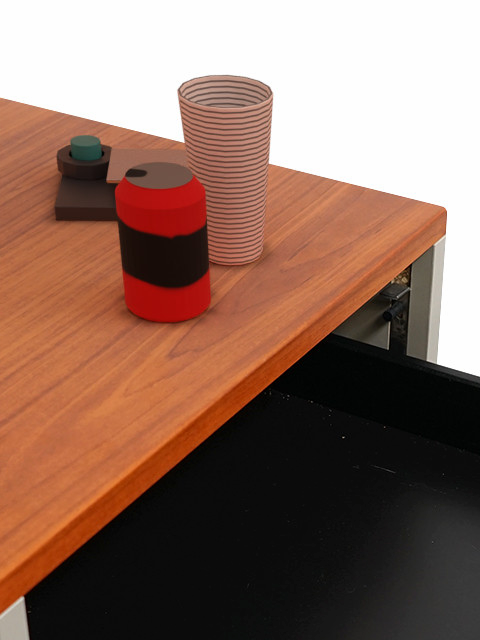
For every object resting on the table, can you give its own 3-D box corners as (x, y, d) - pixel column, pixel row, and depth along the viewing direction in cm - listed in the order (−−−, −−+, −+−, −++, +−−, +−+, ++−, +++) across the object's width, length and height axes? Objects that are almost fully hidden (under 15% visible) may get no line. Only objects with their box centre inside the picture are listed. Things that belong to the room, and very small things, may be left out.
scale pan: (106, 183, 137) (106, 179, 137) (111, 151, 143) (111, 148, 143) (189, 184, 138) (188, 180, 138) (190, 153, 144) (190, 149, 144)
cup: (174, 240, 135) (164, 79, 125) (257, 228, 138) (253, 70, 128) (203, 278, 129) (195, 112, 119) (289, 264, 133) (287, 102, 123)
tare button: (70, 162, 141) (68, 145, 140) (73, 151, 143) (71, 134, 142) (100, 163, 142) (99, 146, 141) (102, 151, 144) (101, 135, 143)
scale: (51, 220, 137) (47, 191, 135) (62, 169, 146) (59, 141, 144) (200, 221, 139) (199, 192, 137) (202, 171, 148) (200, 144, 146)
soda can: (134, 281, 128) (123, 154, 120) (217, 287, 128) (211, 161, 120) (117, 320, 122) (104, 190, 114) (204, 326, 122) (196, 196, 115)
